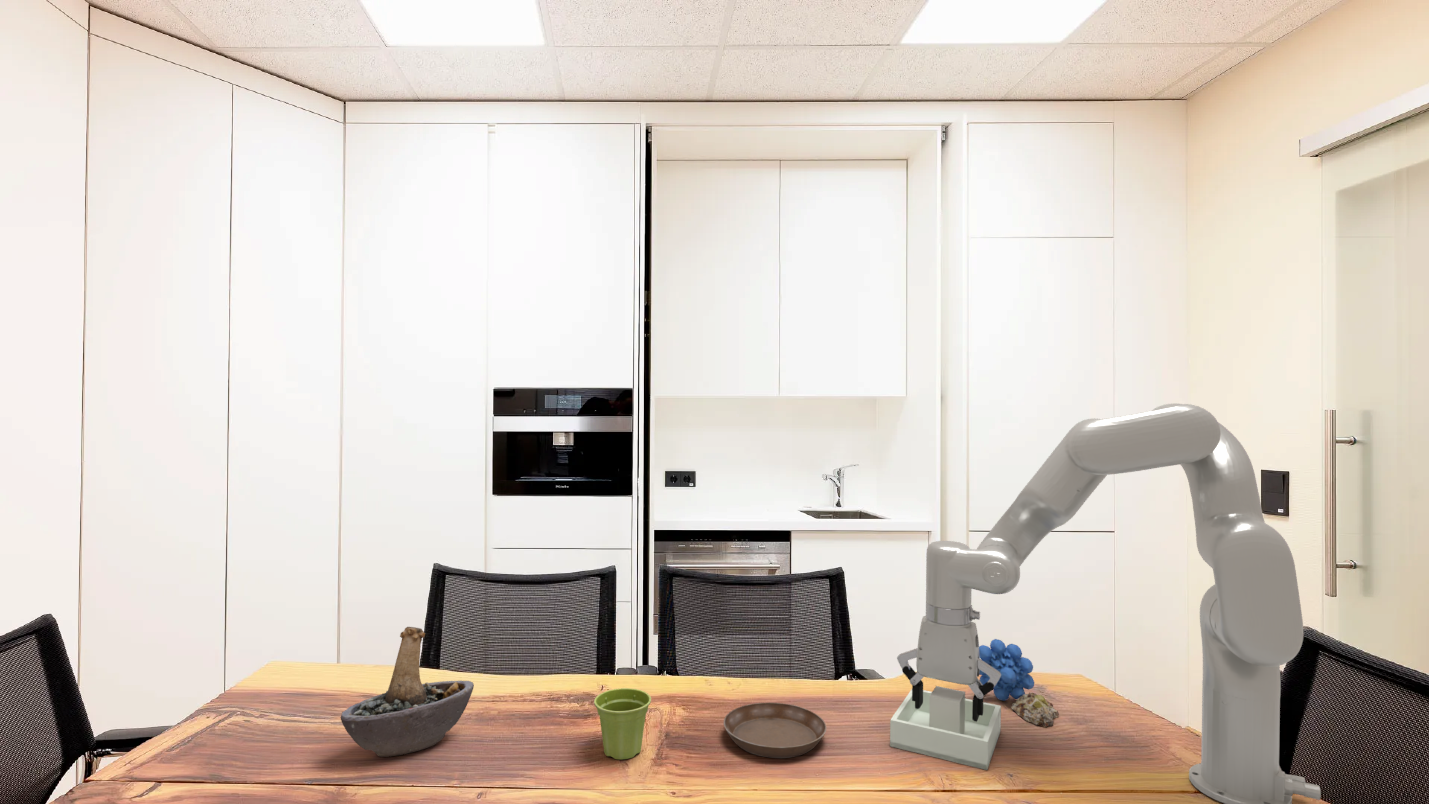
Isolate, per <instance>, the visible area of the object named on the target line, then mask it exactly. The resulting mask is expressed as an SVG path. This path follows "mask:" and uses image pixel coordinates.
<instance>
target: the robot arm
mask: <svg viewBox="0 0 1429 804" xmlns="http://www.w3.org/2000/svg"><path fill="white" fill-rule="evenodd" d="M1179 465H1180V466H1181V468H1182V469H1183V471H1184V473H1185V476H1186V478H1187V482H1188V485H1189V491H1190V496H1191V502H1192V509H1193V517H1194V518H1193V519H1194V525H1195V526H1194V527H1195V537H1196V539H1195V540H1196V547H1197V551H1198V553H1199V556H1200V557H1201V558H1202V560H1203V561H1204V562H1205V563H1206V564H1207V566H1209V567H1210V568H1212V571H1213V578H1214V584H1213V585H1212V586H1210V587H1209V588H1208V589H1207V590H1206V591H1205V593H1204V594H1203V596H1202V599H1201V601H1200V606H1199V625H1200V636H1201V648H1202V652H1201V653H1202V681H1201V684H1202V685H1201V686H1202V688H1201V691H1202V692H1201V695H1202V696H1201V703H1202V704H1201V753H1200V754H1201V760H1200V763H1196V764H1193V765H1192V766H1191V767H1189V770H1188V779H1189V781H1190V783H1191V785H1193V786H1194V787H1195V788H1196V789H1197V790H1199V792H1201V793H1203V795H1205V796H1207V797H1209V798H1211V799H1213V800H1215V801H1217V802H1219V803H1221V804H1222V803H1223V804H1292V803H1293V796H1294V795H1298V796H1303V797H1305V798H1309V799H1314V800H1318V801H1320V800H1321V797H1322V795H1321V787H1320V785H1318V784H1314V783H1309V782H1306V779H1305V776H1304V777H1303V776H1298V775H1294V774H1293V775H1292V774H1287V773H1286V772H1285V771H1283V770H1282V768H1281V766H1280V724H1281V723H1280V721H1281V720H1280V718H1281V715H1280V714H1281V711H1280V710H1281V709H1280V708H1281V669H1280V668H1281V667H1280V666H1282V665H1284V664H1287V663H1290V662H1291V661H1292V660H1293V659H1294V658H1295V657H1297V655H1298V654H1299V652H1300V650H1301V649H1302V648H1301V647H1302V645H1303V641H1304V621H1303V614H1302V607H1301V606H1302V605H1301V600H1300V593H1299V585H1298V578H1297V577H1298V576H1297V572H1296V571H1297V570H1296V565H1295V560H1294V556H1293V553H1292V551H1291V548H1290V547H1289V544H1288V542H1287V541H1286V539H1285V538H1284V536H1282V534H1281V533H1279V532H1278V531H1277V530H1276V529H1275V528H1274V527H1273V526H1271V525H1269V524H1267V523H1266V522H1265V519H1264V515H1263V510H1262V504H1261V497H1260V493H1259V489H1258V484H1257V478H1256V474H1255V470H1254V467H1253V464H1252V460H1251V459H1250V457H1249V454H1248V452H1247V451H1246V449H1245V447H1244V446H1243V445H1242V443H1241V442H1240V441H1239V439H1238V438H1237V437H1236V436H1235V435H1234V434H1233V433H1232V432H1231V431H1230V430H1228V428H1227V427H1225V426H1224V425H1222V424H1221V423H1220V422H1219V421H1218V420H1217V418H1216V416H1214V414H1212V413H1211V412H1210V411H1208V409H1205V408H1204V407H1201V406H1199V405H1196V404H1191V403H1190V404H1189V403H1165V404H1163V405H1159V406H1156V407H1155V408H1153V409H1152V410H1149V411H1144V412H1138V413H1133V414H1128V415H1127V414H1126V415H1121V416H1115V417H1108V418H1086V419H1084V420H1083V419H1082V420H1081V421H1078V423H1076V424H1074V425H1073V427H1072V428H1071V429H1070V430H1069V431H1068V432H1067V433H1066V434H1065V436H1064V437H1063V438H1062V439H1061V441H1060V442H1059V443H1058V444H1057V446H1056V447H1055V448H1054V449H1053V450H1052V451H1051V453H1050V455H1049V456H1048V457H1047V458H1046V459H1045V461H1044V462H1043V463H1042V464H1041V466H1040V467H1039V468H1038V470H1037V471H1036V472H1035V473H1034V475H1033V476H1032V477H1031V478H1030V480H1029V481H1028V482H1027V483H1026V485H1025V486H1024V487H1023V488H1022V490H1021V491H1020V492H1019V494H1018V495H1017V497H1016V498H1015V500H1014V501H1013V502H1012V503H1011V505H1010V506H1009V507H1008V509H1006V511H1005V512H1004V513H1003V514H1002V516H1000V518H999V519H998V521H997V522H996V523H995V524H994V525H993V527H992V528H991V529H990V531H989V532H988V533H987V534H986V535H985V537H984V538H983V540H981V542H980V543H979V544H978V546H977V548H976V549H975V548H974V549H972V548H970V546H969V545H968V544H966V543H964V542H963V543H962V542H960V541H954V540H953V541H952V540H937V541H933V542H931V543H929V544H928V546H927V547H926V556H925V557H926V561H925V562H926V566H925V568H926V569H925V572H926V573H925V576H926V577H925V581H926V582H925V587H926V588H925V615H924V616H922V619H921V621H920V627H919V631H918V632H919V633H918V638H917V639H918V640H917V647H916V648H914V649H910V650H908V651H905V652H902V653H900V654H899V655H898V656H897V657H896V659H897V662H898V664H899V666H900V668H901V669H902V670H901V671H902V673H903V674H904V675H905V677H906V678H907V680H909V683H910V684H911V686H912V687H911V690H912V701H915V708H916V709H919V708H920V707H921V705H922V704H923V690H924V682H923V679H924V678H928V679H932V680H937V681H942V682H948V683H953V684H959V685H964V686H968V687H969V688H970V690H971V691H972V692H973V694H974V695H973V696H972V700H973V709H972V720H974V721H976V722H977V720H978V718H979V715H981V716H982V715H983V702H984V697H985V696H986V695H988V694H989V693H990V692H993V688H994V687H995V685H996V684H997V682H998V681H999V679H1000V677H1001V673H1000V672H999V671H997V670H996V669H994V668H993V667H991V666H990V665H988V664H987V663H985V662H984V661H983V660H981V659H980V654H979V646H980V642H979V633H978V628H977V623H976V622H975V620H980V619H981V612H980V611H977V610H975V609H974V607H973V605H972V590H976V591H979V592H982V593H986V594H987V593H988V594H993V595H1003V594H1004V595H1005V594H1008V593H1009V592H1011V591H1012V590H1013V591H1014V589H1015V588H1016V587H1017V586H1018V584H1019V582H1020V577H1021V566H1022V565H1023V563H1024V562H1025V561H1026V559H1027V558H1028V557H1029V556H1030V554H1032V552H1033V551H1034V549H1035V548H1036V547H1037V546H1038V545H1039V544H1040V542H1041V541H1043V539H1044V538H1045V537H1047V536H1048V535H1049V534H1050V533H1051V532H1052V531H1054V530H1055V529H1057V528H1059V527H1062V526H1063V525H1066V523H1068V522H1069V521H1070V520H1071V519H1073V517H1074V516H1075V515H1076V514H1077V513H1078V511H1080V509H1081V508H1082V506H1083V505H1084V504H1085V502H1086V501H1087V500H1088V499H1089V498H1090V496H1091V495H1092V494H1093V493H1094V492H1095V490H1096V489H1097V487H1098V486H1099V485H1100V484H1101V483H1102V482H1103V481H1104V479H1105V478H1106V477H1107V476H1109V475H1117V474H1119V475H1120V474H1124V473H1125V474H1126V473H1127V474H1128V473H1134V472H1135V473H1136V472H1141V471H1146V470H1148V471H1149V470H1152V469H1153V470H1154V469H1158V468H1166V467H1171V466H1179ZM973 620H974V621H973ZM914 659H916V661H915V665H916V671H915V669H914V668H912V666H911V665H910V663H909V661H910V660H914ZM980 670H981V671H983V672H984V673H986V674H987V675H988V676H989V677H990V679H989V681H988V682H986V683H985V684H983V685H982V683H981V682H980V681H979V680H980V675H979V674H980ZM978 677H979V678H978ZM1293 794H1294V795H1293Z"/></svg>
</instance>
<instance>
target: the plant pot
mask: <svg viewBox="0 0 1429 804" xmlns="http://www.w3.org/2000/svg"><path fill="white" fill-rule="evenodd" d="M593 702H594V703H593V704H594V707H596V709H597V714H598V716H599V722H600V723H599V724H600V731H601V739H602V747H603V752H604V755H605V756H607V757H612V758H613V759H615V760H628V759H632V758H634V757H635V756H636V755H637V754H640V753H641V750H642V745H643V737H644V731H645V730H644V729H645V723H646V715H647V712H648V710H649V705H650V704H651V702H652V696H651V695H650V694H649V693H647V692H646V691H645V690H642V689H637V688H627V687H622V688H614V689H609V690H606V691H603V692H601V693H599V694H598V695H597V696H596V697H595V698H594V701H593Z"/></svg>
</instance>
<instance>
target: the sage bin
mask: <svg viewBox="0 0 1429 804" xmlns="http://www.w3.org/2000/svg"><path fill="white" fill-rule="evenodd" d="M931 693H932V691H931V690H930V691H929V690H925V689H923V704H922V705H921V707H920V708H919V709H916V708H915V701H912V689H910V691H909V692H908V694H907V695H906V697H905V698H904V700H903V701H902V703H900V705H899V706H898V708H897V710H896V711H895V713H894V714H893V715H892V717H891V719H889V720H890V721H889V722H890V723H889V729H890V730H889V747H892V748H896V749H899V750H902V751H903V750H904V751H909V752H911V753H916V754H920V755H922V756H923V755H925V756H927V757H928V756H929V757H932V758H936V759H940V760H944V761H947V762H952V763H957V764H960V765H965V766H969V767H972V768H977V769H981V770H985V771H988V770H989V766H990V763H991V760H992V758H993V754H994V751H995V748H996V746H997V743H998V740H999V737H1000V734H1001V730H1002V729H1001V727H1002V723H1001V720H1002V719H1001V717H1002V716H1001V715H1002V714H1001V713H1002V705H999V704H994V703H989V702H985V701H983V715H982V716H981V715H979V718H978V720H977V722H976V721H974V720H972V709H973V699H969V698H965V732H964V734H960V733H955V732H951V731H947V730H942V729H938V728H933V727H929V706H930V694H931Z"/></svg>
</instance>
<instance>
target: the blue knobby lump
mask: <svg viewBox="0 0 1429 804" xmlns="http://www.w3.org/2000/svg"><path fill="white" fill-rule="evenodd" d="M979 654H980V659H981V660H983V661H984V662H985V663H987V664H988V665H990V666H991V667H993V668H994V669H996V670H997V671H999V672H1000V673H1001V677H1000V679H999V681H998V682H997V684H996V685H995V687H994V688H993V690H992V692H993V694H994V696H995V698H996V699H998V700H999V701H1002V702H1005V701H1008V700H1009V698H1010V697H1012V699H1014V700H1015V701H1016V700H1017V699H1018V698H1019V697H1021V696H1022V695H1025V694H1026V692H1025V690H1031V689H1033V688H1034V686H1035V680H1034V678H1033V676H1032V675H1031V673H1032V672H1033V670H1034V665H1033V662H1032V661H1031V660H1030V659H1029V658H1028V657H1024V656H1022V655H1023V651H1022V649H1021V647H1019V646H1018V645H1017V644H1014V643H1009V644H1007V645H1005V643H1004V642H1003V640H1002V639H997V638H994V639H992V640H991V641H990V645H989V646H988V645H986V644H985V645H984V644H982V645H979ZM989 679H990V677H989V676H988V675H987V674H986V673H984V672H983V671H981V670H980V674H979V681H980V682H981V683H982V685H983V684H985V683H986V682H988V681H989Z"/></svg>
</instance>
